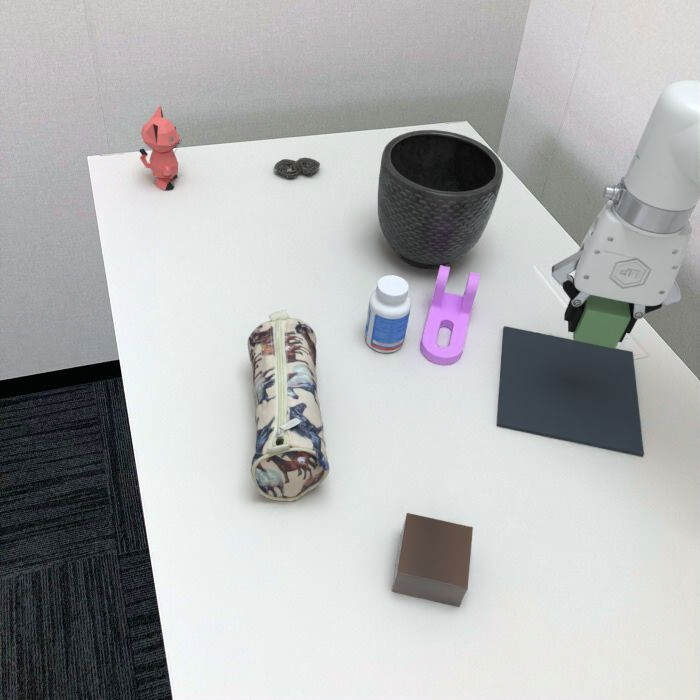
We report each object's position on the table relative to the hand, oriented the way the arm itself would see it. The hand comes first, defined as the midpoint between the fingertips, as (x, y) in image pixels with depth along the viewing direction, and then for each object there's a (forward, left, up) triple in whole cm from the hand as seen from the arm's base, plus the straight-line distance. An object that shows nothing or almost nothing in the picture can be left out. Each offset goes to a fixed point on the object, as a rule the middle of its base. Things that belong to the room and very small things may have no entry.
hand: (594, 328), depth 89 cm
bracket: (+17, -6, -11) cm, 21 cm away
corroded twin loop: (+46, -38, -11) cm, 61 cm away
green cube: (0, 0, 0) cm, 0 cm away
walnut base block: (+15, +30, -11) cm, 35 cm away
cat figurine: (+66, -28, -11) cm, 72 cm away
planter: (+22, -23, -11) cm, 34 cm away
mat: (0, 0, -11) cm, 11 cm away
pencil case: (+34, +16, -11) cm, 39 cm away
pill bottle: (+25, -2, -11) cm, 27 cm away
